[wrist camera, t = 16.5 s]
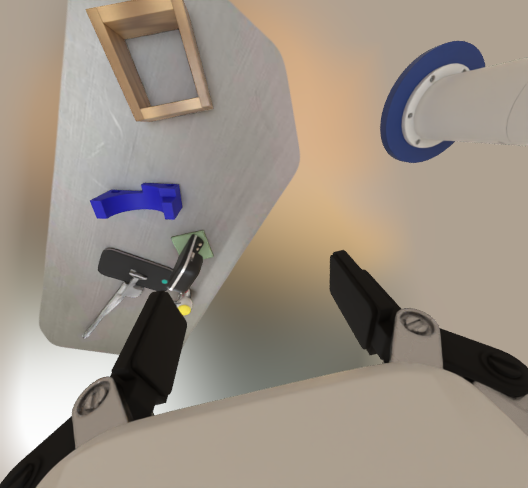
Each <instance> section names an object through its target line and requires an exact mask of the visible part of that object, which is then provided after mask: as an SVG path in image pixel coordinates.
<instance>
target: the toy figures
mask: <svg viewBox="0 0 528 488" xmlns="http://www.w3.org/2000/svg"><path fill="white" fill-rule="evenodd" d="M178 297H179V300H178V301H176V302H174V303H175V304H176V306H177V308H178V309H179V311H180V312H181V314H182V315H188V314H189V313H190V312H191V309H192V305H193V304H192V301H191V299H190V298H191V293H190V290H189V289H188V290H187V291H186V292H184V293H180V292H179V295H178ZM180 298H181V299H180Z"/></svg>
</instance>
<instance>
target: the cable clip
mask: <svg viewBox="0 0 528 488" xmlns="http://www.w3.org/2000/svg"><path fill="white" fill-rule="evenodd" d="M141 187H142V191H129V190H110V191H108V192H106V193H104V194H102V195H100V196H98V197H96V198H94V199H92V200H90V202H91V205H92V207H93V210H94V212H95V215H96V217H97V218H102V219H107V218H109V217H111V216H113V215H115V214H118V213H121V212H125V211H130V210H139V209H152V210H158V211H161V212H163V213H164V216H165V219H173V220H175V218H176V216H177V215H178V213H179V212H180V210H181V209H182V201H181V194H180V188H179V184H159V183H143V184H142V185H141Z"/></svg>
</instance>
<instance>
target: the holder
mask: <svg viewBox="0 0 528 488" xmlns="http://www.w3.org/2000/svg"><path fill="white" fill-rule="evenodd" d="M86 12H87V14H88V16H89V18H90V21H91V23H92V25H93V27H94V29H95V32H96V34H97V36H98V38H99V40H100V43H101V45H102V47H103V49H104V51H105V54H106V56H107V58H108V60H109V63H110V65H111V67H112V69H113V71H114V74H115V76H116V78H117V80H118V82H119V85H120V87H121V89H122V91H123V93H124V96H125V98H126V100H127V102H128V105H129V107H130V109H131V111H132V113H133V116H134V118H135V120H136V121H143V122H152V121H156V120H161V119H166V118H171V117H176V116H181V115H186V114H190V113H195V112H200V111H205V110H210V109H213V105H212V101H211V97H210V93H209V90H208V86H207V82H206V78H205V74H204V70H203V66H202V63H201V59H200V55H199V51H198V47H197V43H196V40H195V36H194V32H193V28H192V24H191V20H190V16H189V13H188V11H187V8H186V6H185V3H184V1H183V0H131V1H126V2H121V3H116V4H111V5H106V6H100V7H97V8H96V7H94V8H89V9H86ZM175 29H179V30H180V34H181V37H182V41H183V44H184V48H185V51H186V55H187V58H188V62H189V65H190V69H191V72H192V76H193V79H194V83H195V86H196V89H197V93H198V96H199V97H197V98H192V99H187V100H182V101H177V102H172V103H167V104H162V105H158V106H153V107H151V105H150V102H149V100H148V97H147V95H146V92H145V90H144V87H143V85H142V82H141V80H140V77H139V75H138V72H137V70H136V67H135V65H134V62H133V60H132V58H131V55H130V53H129V50H128V48H127V45H126V43H125V40H124V39H130V38H135V37H140V36H145V35H150V34H155V33H160V32H165V31H170V30H175Z"/></svg>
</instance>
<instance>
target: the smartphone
mask: <svg viewBox="0 0 528 488" xmlns="http://www.w3.org/2000/svg"><path fill="white" fill-rule="evenodd" d="M131 269H132V270H134V271H136V273H138V274H141V275H143V276H145V277H147V280H142V279H140V278H139V277H136V276H135V278H138V279H139V280H138V281H137V282H136V283H135V285H139V286H142V287H145V288H149V289H152V290H156V291H161V290H163V291H166V290H167V289H168V288H167V287H166V286H167V283H168V281H169V278H170V276H171V274H172V271H173V270H172V269H170V268H167V267H165V266H162V265H159V264H156V263H153V262H150V261H147V260H144V259H141V258H138V257H136V256H133V255H130V254H127V253H124V252H121V251H118V250H115V249H110V248H108V249H105V250H104V251H103V252H102V255H101V258H100V262H99V265H98V271H99V272H100V273H101V274H103V275H105V276H108V277H111V278H115V279H118V280H122V281H126V282H128V283H129V282H130V281H131V280H132V279H134V277H133V276H131V275H130V274H129V273H130V271H131ZM131 282H132V281H131Z"/></svg>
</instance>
